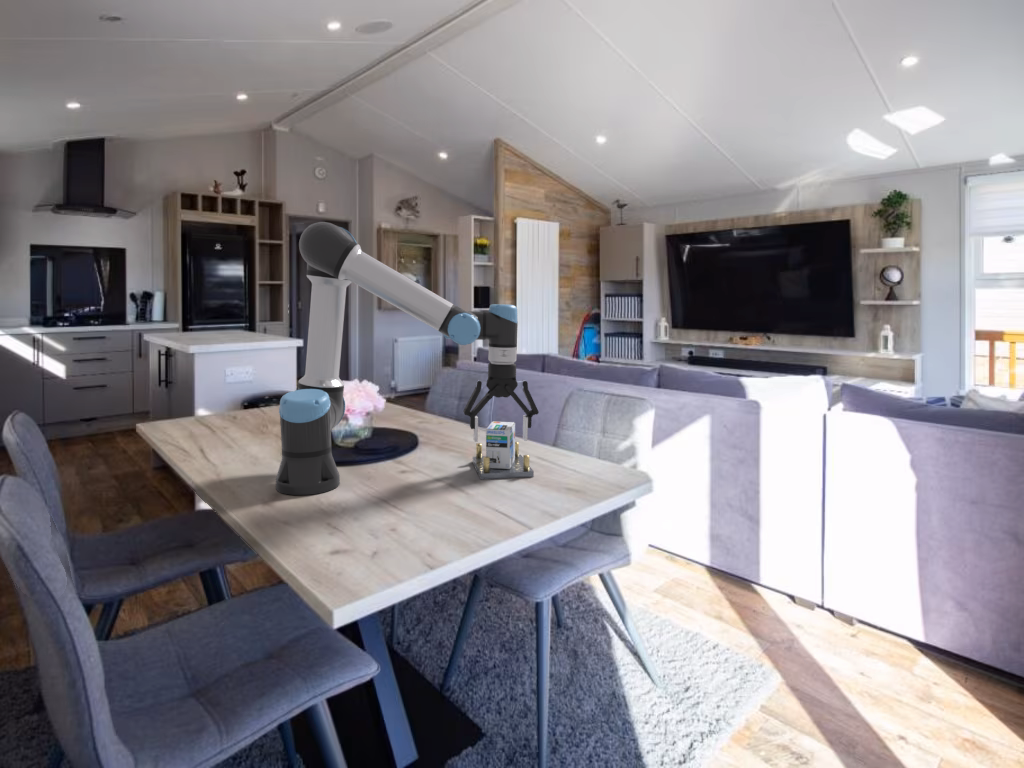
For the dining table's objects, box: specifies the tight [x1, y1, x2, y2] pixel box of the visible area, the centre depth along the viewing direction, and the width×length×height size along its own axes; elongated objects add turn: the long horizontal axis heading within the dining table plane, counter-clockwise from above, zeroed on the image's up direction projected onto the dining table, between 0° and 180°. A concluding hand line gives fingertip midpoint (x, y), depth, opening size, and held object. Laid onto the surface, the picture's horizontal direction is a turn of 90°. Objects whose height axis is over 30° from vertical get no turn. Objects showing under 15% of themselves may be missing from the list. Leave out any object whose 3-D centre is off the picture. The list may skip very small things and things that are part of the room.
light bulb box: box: [485, 420, 516, 469], centre depth 172 cm, size 11×7×11 cm, turn 172°
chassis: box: [472, 441, 534, 480], centre depth 173 cm, size 14×17×6 cm
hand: (500, 440), depth 172 cm, fingers open, 13 cm apart
